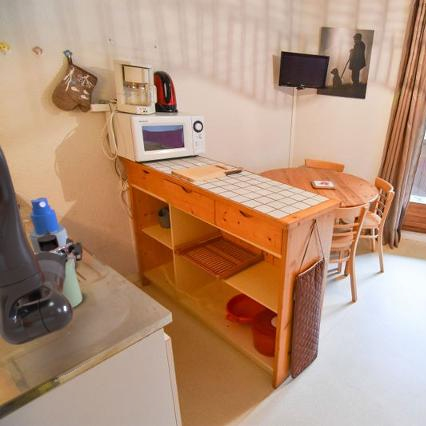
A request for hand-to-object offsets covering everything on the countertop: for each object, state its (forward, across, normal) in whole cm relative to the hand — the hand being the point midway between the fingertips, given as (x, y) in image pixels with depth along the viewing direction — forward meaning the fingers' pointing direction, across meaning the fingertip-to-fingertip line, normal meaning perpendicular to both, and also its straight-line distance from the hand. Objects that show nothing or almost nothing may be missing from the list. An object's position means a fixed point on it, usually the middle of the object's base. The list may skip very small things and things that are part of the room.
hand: (48, 244), depth 84 cm
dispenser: (0, 0, +19) cm, 19 cm away
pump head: (+2, 0, +2) cm, 3 cm away
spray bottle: (+21, +2, +19) cm, 29 cm away
